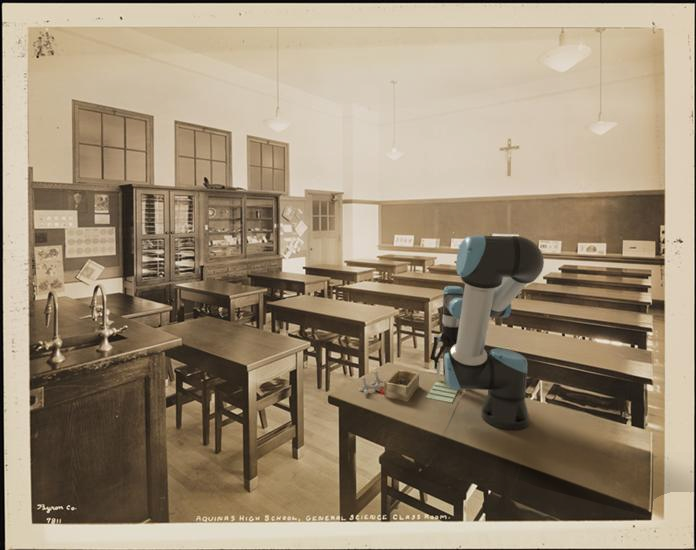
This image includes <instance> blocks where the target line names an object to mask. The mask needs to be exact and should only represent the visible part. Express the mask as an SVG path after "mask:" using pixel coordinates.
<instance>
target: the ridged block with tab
mask: <svg viewBox="0 0 696 550" xmlns="http://www.w3.org/2000/svg"><path fill="white" fill-rule="evenodd" d="M443 375H444V378H443V382H439V381H435V383H434V384H433V386H432V388H430V390H429V391H428V393H427V395H426V396H425V398H426V399H429V400H434V401H435V400H436V401H438V402H439V401H440V402H444V403H450V404H453V402H454V400H455V398H456V395H457V394H458V392H459V391H460V389H454V388H451V387H449V385H448V383H447V380H446V374H445V373H444V374H443Z"/></svg>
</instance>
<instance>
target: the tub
mask: <svg viewBox="0 0 696 550" xmlns="http://www.w3.org/2000/svg"><path fill="white" fill-rule="evenodd" d="M400 379H406V386H403V385H400ZM419 387H420V373H419V372H413V371H408V370H402V369H396V370H395V372H394V373H392V375H391V376H390V377H389V378H388V379H387V381H386V382H385V384H384V390H385V392H384V394H383V395H384V398H388V399H394V400H399V401H403V402H406V403H407V402H409V401H410V399H411V398H412V396H413V395H414V393H415V392H416V391H417V390H418V388H419Z"/></svg>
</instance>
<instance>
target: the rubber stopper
mask: <svg viewBox="0 0 696 550" xmlns="http://www.w3.org/2000/svg"><path fill="white" fill-rule="evenodd" d="M401 384H403V385H406V379H400V385H401Z"/></svg>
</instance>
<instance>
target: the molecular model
mask: <svg viewBox="0 0 696 550" xmlns="http://www.w3.org/2000/svg"><path fill="white" fill-rule="evenodd" d="M373 374H374V376H375V379H374V381H371V382H370V385H368V384H367V382H366V377H365V376H362V377H361V381H362V383H363V385H362V387H361V388H358V390H357V391H358V392H363V391H364V392H363V394H364V395H368V394H369V391H368V390H369V389H371V390H374V391H376V392H378V393H380V394H381V395H384V392H385V388H382V387H381V386H380V384H381V383H382V384H383V383H384V385H385V382H386V381H387V380H388V379H387V380H386V379H384V380H383V379H380V377H379V376H378V374H379V372H378V371H377V370H374V371H373Z"/></svg>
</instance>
